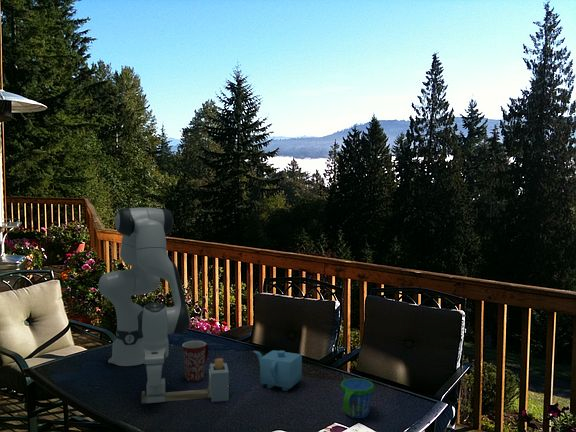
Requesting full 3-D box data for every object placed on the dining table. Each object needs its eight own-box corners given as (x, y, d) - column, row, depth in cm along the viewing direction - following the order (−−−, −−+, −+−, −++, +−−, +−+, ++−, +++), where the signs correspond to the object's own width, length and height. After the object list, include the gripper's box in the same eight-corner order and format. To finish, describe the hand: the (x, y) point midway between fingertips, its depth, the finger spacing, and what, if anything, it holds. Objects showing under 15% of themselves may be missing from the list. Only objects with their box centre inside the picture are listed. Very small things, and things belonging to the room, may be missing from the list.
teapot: (304, 380, 201) (304, 347, 200) (287, 395, 187) (287, 359, 186) (262, 373, 209) (262, 341, 208) (243, 387, 194) (242, 353, 194)
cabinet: (208, 390, 191) (208, 363, 190) (226, 389, 192) (226, 362, 192) (210, 402, 181) (210, 373, 181) (228, 400, 182) (228, 372, 182)
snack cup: (357, 427, 162) (357, 395, 162) (329, 417, 169) (329, 386, 169) (383, 411, 174) (383, 380, 174) (356, 402, 181) (356, 373, 180)
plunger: (214, 372, 187) (214, 358, 187) (223, 371, 188) (222, 357, 188) (215, 375, 185) (214, 361, 184) (223, 374, 185) (223, 360, 185)
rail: (142, 399, 183) (142, 391, 183) (210, 394, 188) (210, 386, 187) (141, 403, 180) (141, 394, 180) (210, 397, 185) (210, 389, 185)
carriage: (147, 397, 184) (147, 379, 184) (165, 396, 186) (165, 378, 185) (146, 403, 179) (146, 384, 179) (164, 401, 181) (164, 383, 180)
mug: (195, 384, 197) (195, 349, 196) (177, 379, 202) (177, 345, 201) (217, 374, 208) (216, 340, 207) (199, 369, 213) (199, 336, 212)
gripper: (148, 342, 191) (148, 379, 192) (143, 361, 171) (144, 402, 172) (165, 341, 192) (166, 378, 193) (163, 359, 172) (164, 401, 173)
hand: (156, 390), depth 182 cm, fingers closed on carriage, 5 cm apart
